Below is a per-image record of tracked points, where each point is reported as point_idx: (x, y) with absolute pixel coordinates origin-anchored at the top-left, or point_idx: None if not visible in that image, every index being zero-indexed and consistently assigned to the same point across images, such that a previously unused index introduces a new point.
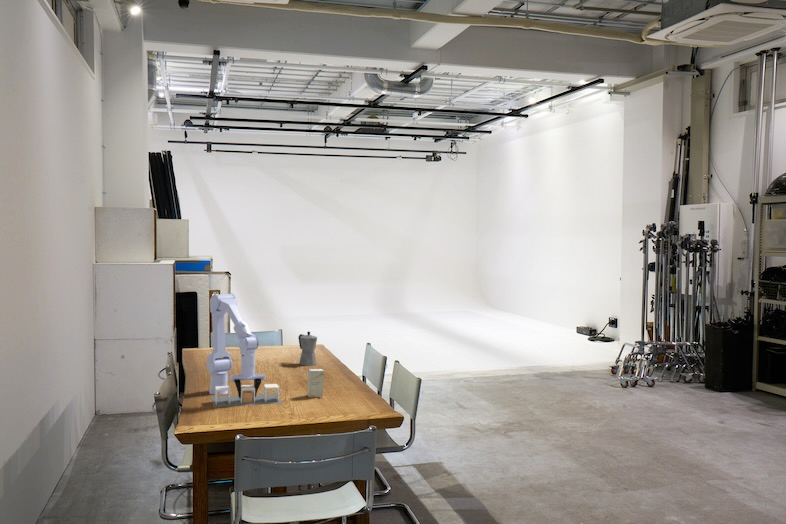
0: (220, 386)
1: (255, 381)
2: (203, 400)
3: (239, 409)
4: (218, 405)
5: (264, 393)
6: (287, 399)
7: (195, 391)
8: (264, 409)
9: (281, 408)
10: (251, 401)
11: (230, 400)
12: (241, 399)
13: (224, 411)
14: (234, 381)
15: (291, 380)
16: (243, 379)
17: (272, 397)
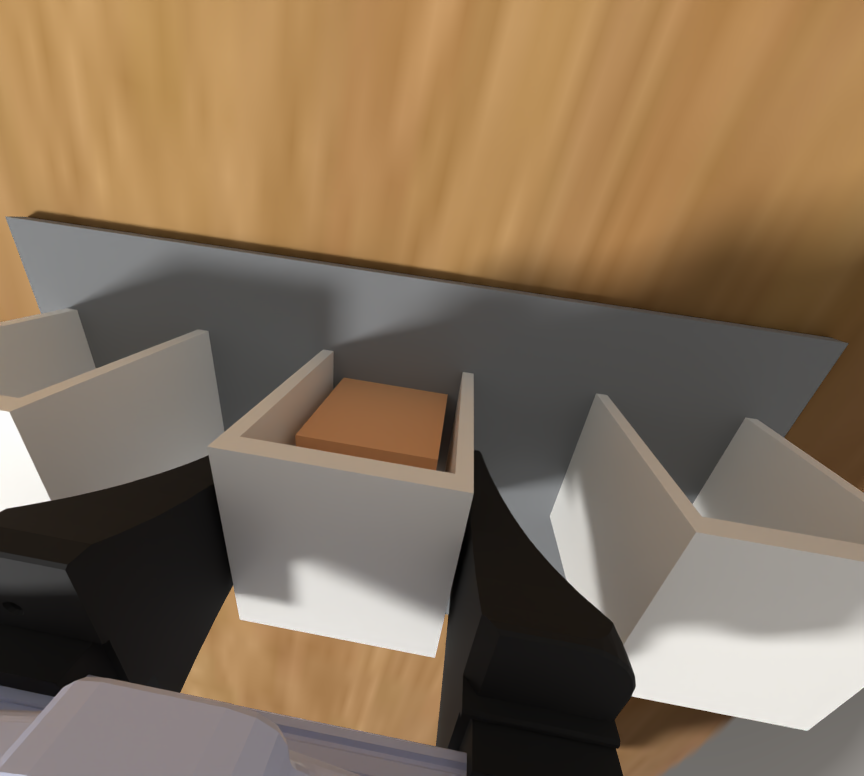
0: (741, 704)
1: (90, 590)
2: None
3: (558, 166)
4: (751, 382)
5: (163, 449)
6: None
7: (644, 759)
8: (231, 38)
9: (3, 16)
10: (351, 384)
11: (535, 509)
12: (469, 394)
13: (807, 117)
14: (602, 745)
15: None
16: (375, 758)
17: None
